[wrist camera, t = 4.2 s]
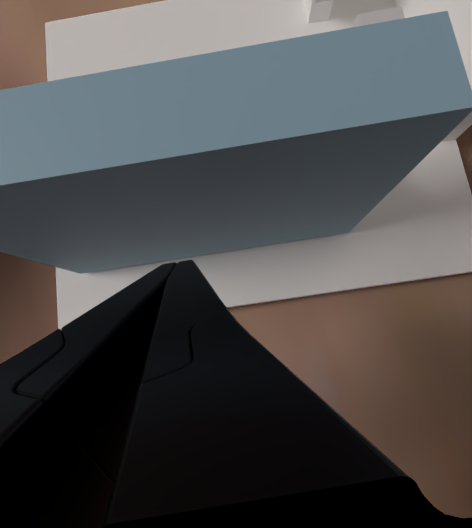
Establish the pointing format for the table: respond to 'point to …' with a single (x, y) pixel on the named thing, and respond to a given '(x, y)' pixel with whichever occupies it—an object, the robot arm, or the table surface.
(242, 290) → the cabinet base
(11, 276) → the table surface
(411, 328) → the table surface
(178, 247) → the door panel
